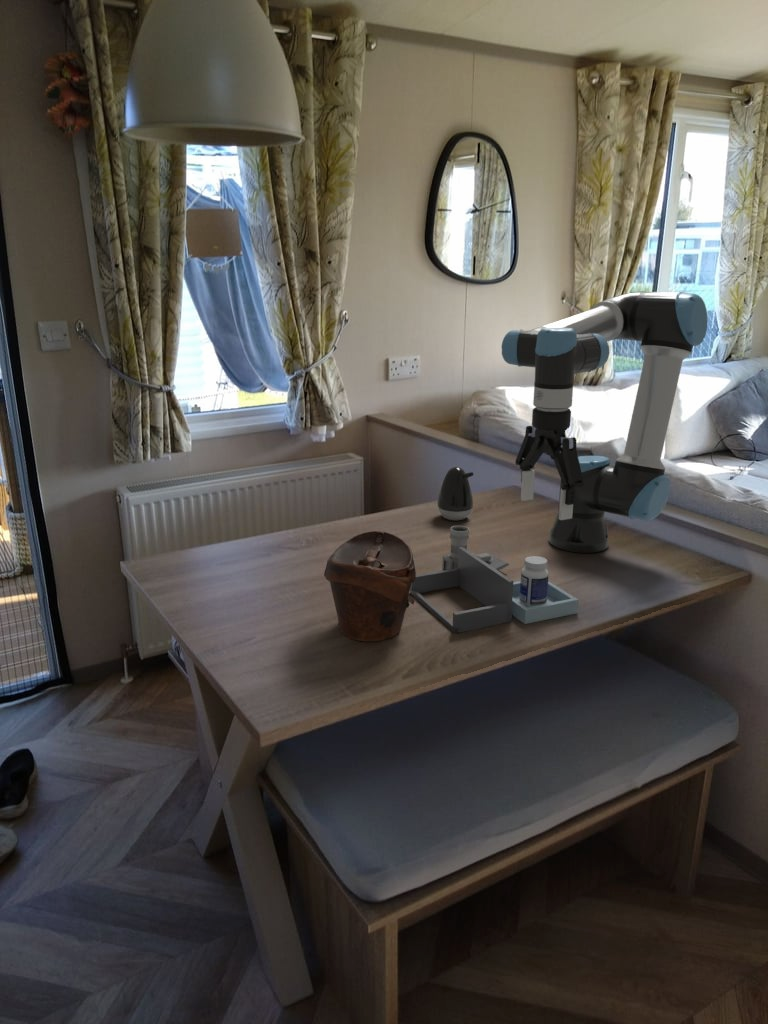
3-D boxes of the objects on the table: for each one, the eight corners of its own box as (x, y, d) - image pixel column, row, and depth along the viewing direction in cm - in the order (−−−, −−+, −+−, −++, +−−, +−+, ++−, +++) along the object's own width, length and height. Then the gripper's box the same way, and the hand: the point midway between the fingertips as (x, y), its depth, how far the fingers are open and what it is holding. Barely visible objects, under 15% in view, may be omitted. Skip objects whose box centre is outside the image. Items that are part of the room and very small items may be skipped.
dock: (409, 592, 167) (410, 555, 164) (461, 583, 172) (462, 546, 169) (454, 633, 148) (456, 591, 145) (510, 621, 153) (513, 581, 150)
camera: (437, 525, 175) (489, 516, 182) (435, 572, 178) (486, 561, 185) (458, 536, 167) (511, 526, 174) (456, 585, 171) (508, 573, 178)
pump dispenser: (462, 526, 210) (465, 473, 205) (430, 519, 215) (432, 468, 211) (479, 516, 218) (481, 465, 213) (447, 510, 223) (449, 460, 219)
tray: (491, 599, 164) (492, 586, 163) (541, 589, 168) (542, 577, 167) (524, 624, 152) (525, 610, 151) (577, 613, 157) (578, 599, 156)
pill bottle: (549, 600, 162) (552, 557, 158) (542, 610, 157) (546, 566, 154) (523, 595, 164) (526, 553, 161) (515, 605, 159) (518, 562, 156)
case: (346, 659, 138) (346, 568, 133) (312, 615, 155) (311, 534, 150) (432, 642, 145) (436, 556, 139) (390, 603, 162) (392, 524, 157)
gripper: (502, 399, 158) (498, 494, 165) (575, 421, 137) (567, 530, 143) (531, 396, 161) (526, 490, 168) (608, 417, 139) (599, 524, 146)
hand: (545, 509), depth 156 cm, fingers open, 13 cm apart
